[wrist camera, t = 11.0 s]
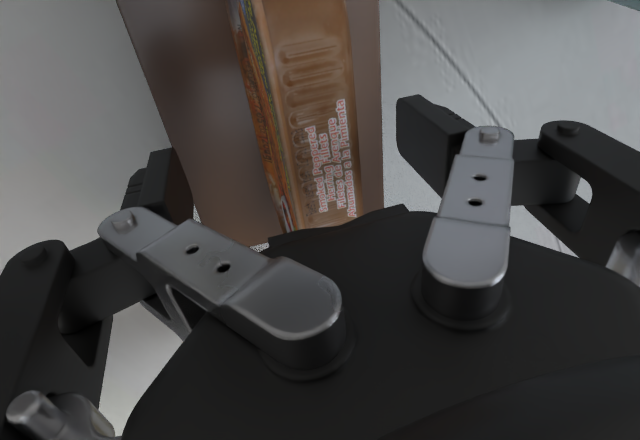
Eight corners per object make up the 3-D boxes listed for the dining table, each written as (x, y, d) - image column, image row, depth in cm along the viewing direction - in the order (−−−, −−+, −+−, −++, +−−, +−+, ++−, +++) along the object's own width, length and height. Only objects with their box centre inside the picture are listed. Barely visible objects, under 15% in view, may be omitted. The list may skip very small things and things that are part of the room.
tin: (200, -102, 14) (195, -139, 8) (284, -113, 15) (349, -158, 8) (275, 221, 23) (304, 333, 17) (326, 209, 24) (373, 314, 17)
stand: (212, 196, 29) (214, 255, 24) (104, -118, 18) (60, -143, 13) (352, 164, 30) (384, 214, 25) (327, -147, 20) (375, -181, 14)
